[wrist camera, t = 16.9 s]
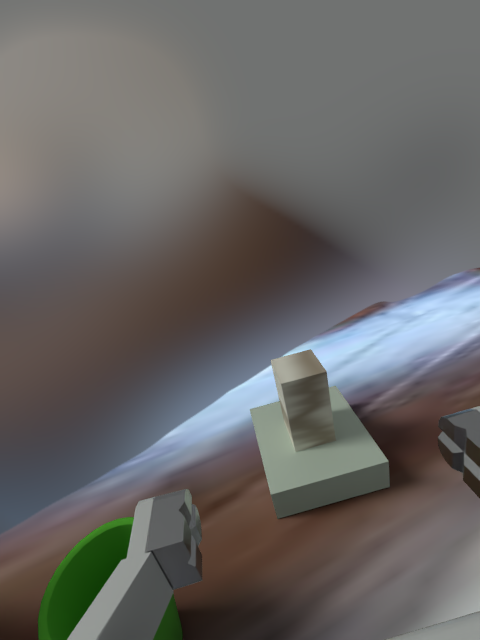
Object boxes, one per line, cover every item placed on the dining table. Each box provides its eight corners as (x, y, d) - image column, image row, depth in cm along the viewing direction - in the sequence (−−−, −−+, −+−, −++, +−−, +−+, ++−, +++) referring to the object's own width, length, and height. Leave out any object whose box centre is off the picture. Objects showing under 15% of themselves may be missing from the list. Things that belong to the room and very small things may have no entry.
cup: (137, 580, 33) (93, 511, 28) (218, 596, 30) (184, 522, 26) (77, 712, 25) (4, 645, 21) (179, 750, 22) (120, 683, 18)
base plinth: (277, 518, 35) (270, 494, 34) (255, 429, 48) (249, 409, 46) (389, 486, 36) (388, 461, 34) (338, 407, 48) (335, 385, 47)
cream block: (295, 452, 38) (281, 383, 34) (284, 423, 42) (270, 360, 38) (335, 440, 38) (326, 371, 34) (320, 413, 43) (310, 349, 38)
